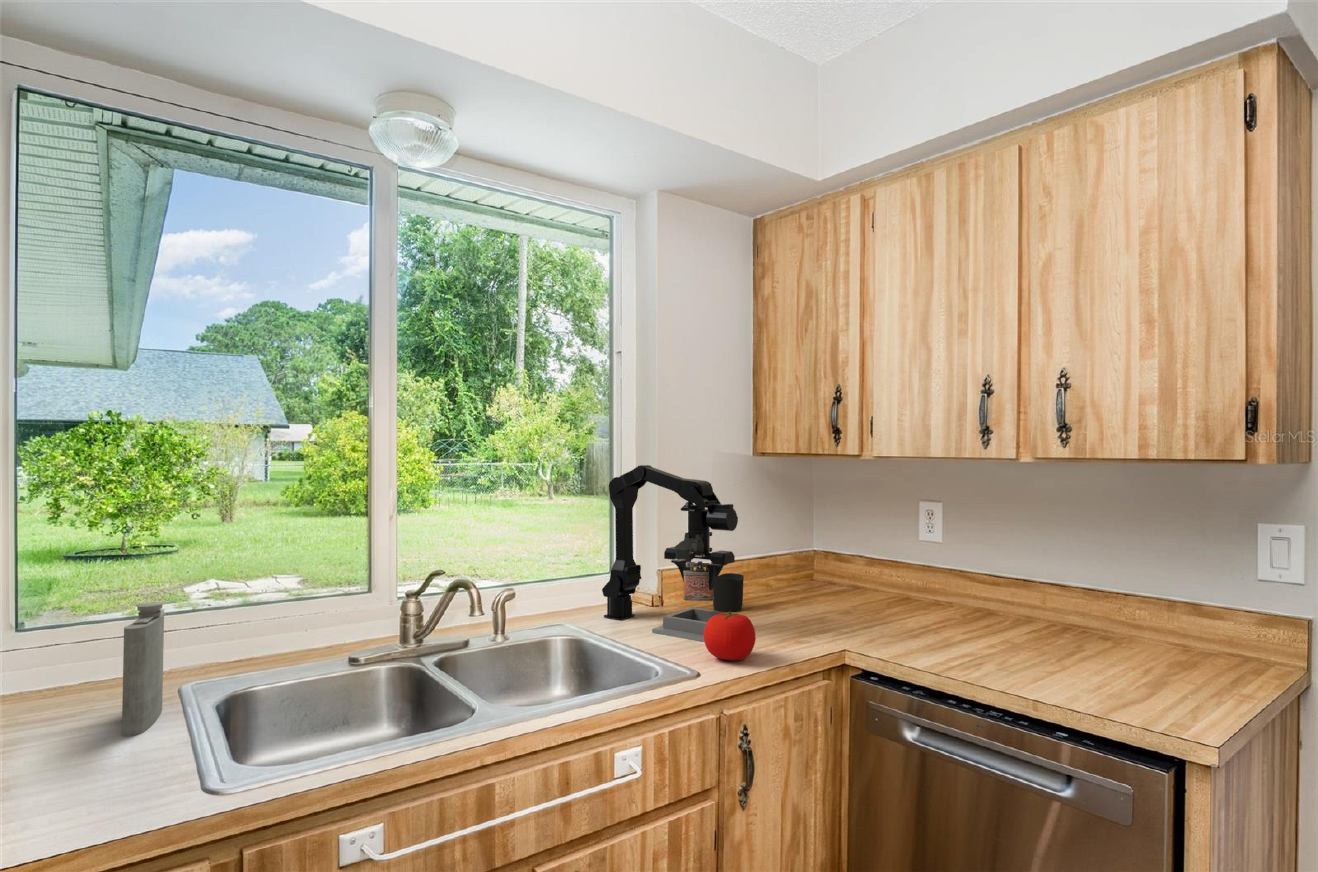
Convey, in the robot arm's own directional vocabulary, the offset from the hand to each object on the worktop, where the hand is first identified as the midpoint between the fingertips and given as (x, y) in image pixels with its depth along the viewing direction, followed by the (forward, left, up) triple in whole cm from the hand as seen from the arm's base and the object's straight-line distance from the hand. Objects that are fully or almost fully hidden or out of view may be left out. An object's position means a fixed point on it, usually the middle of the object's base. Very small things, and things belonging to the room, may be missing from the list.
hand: (698, 588), depth 188 cm
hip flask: (-46, -109, -11) cm, 118 cm away
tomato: (+19, -18, -11) cm, 28 cm away
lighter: (0, 0, -3) cm, 3 cm away
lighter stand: (0, 0, -11) cm, 11 cm away
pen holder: (-7, +27, -11) cm, 30 cm away
